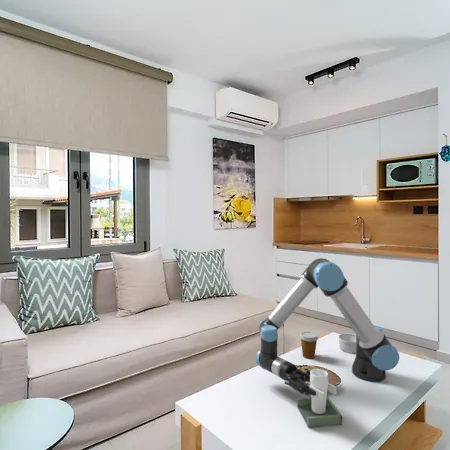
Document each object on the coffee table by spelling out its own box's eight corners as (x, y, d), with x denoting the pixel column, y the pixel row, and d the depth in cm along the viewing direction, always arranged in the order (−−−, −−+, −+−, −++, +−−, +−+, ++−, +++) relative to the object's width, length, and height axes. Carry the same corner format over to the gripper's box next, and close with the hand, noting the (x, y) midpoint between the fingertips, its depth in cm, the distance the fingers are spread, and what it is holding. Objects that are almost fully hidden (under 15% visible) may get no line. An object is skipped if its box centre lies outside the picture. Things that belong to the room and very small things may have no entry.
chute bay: (327, 404, 136) (327, 396, 136) (342, 425, 123) (342, 415, 123) (296, 406, 135) (296, 398, 135) (308, 427, 122) (308, 418, 122)
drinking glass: (307, 405, 132) (307, 368, 131) (323, 405, 133) (324, 368, 132) (313, 416, 125) (313, 377, 125) (330, 415, 126) (331, 376, 125)
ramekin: (366, 349, 191) (366, 337, 190) (357, 356, 181) (357, 344, 181) (344, 343, 200) (344, 331, 199) (334, 349, 190) (334, 337, 190)
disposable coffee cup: (318, 360, 176) (318, 338, 175) (299, 359, 178) (300, 337, 177) (317, 353, 185) (317, 332, 185) (299, 351, 187) (299, 330, 187)
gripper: (299, 371, 149) (345, 395, 131) (268, 385, 138) (313, 412, 119) (299, 355, 149) (345, 376, 130) (268, 367, 137) (313, 392, 119)
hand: (329, 393), depth 125 cm, fingers closed on drinking glass, 6 cm apart
